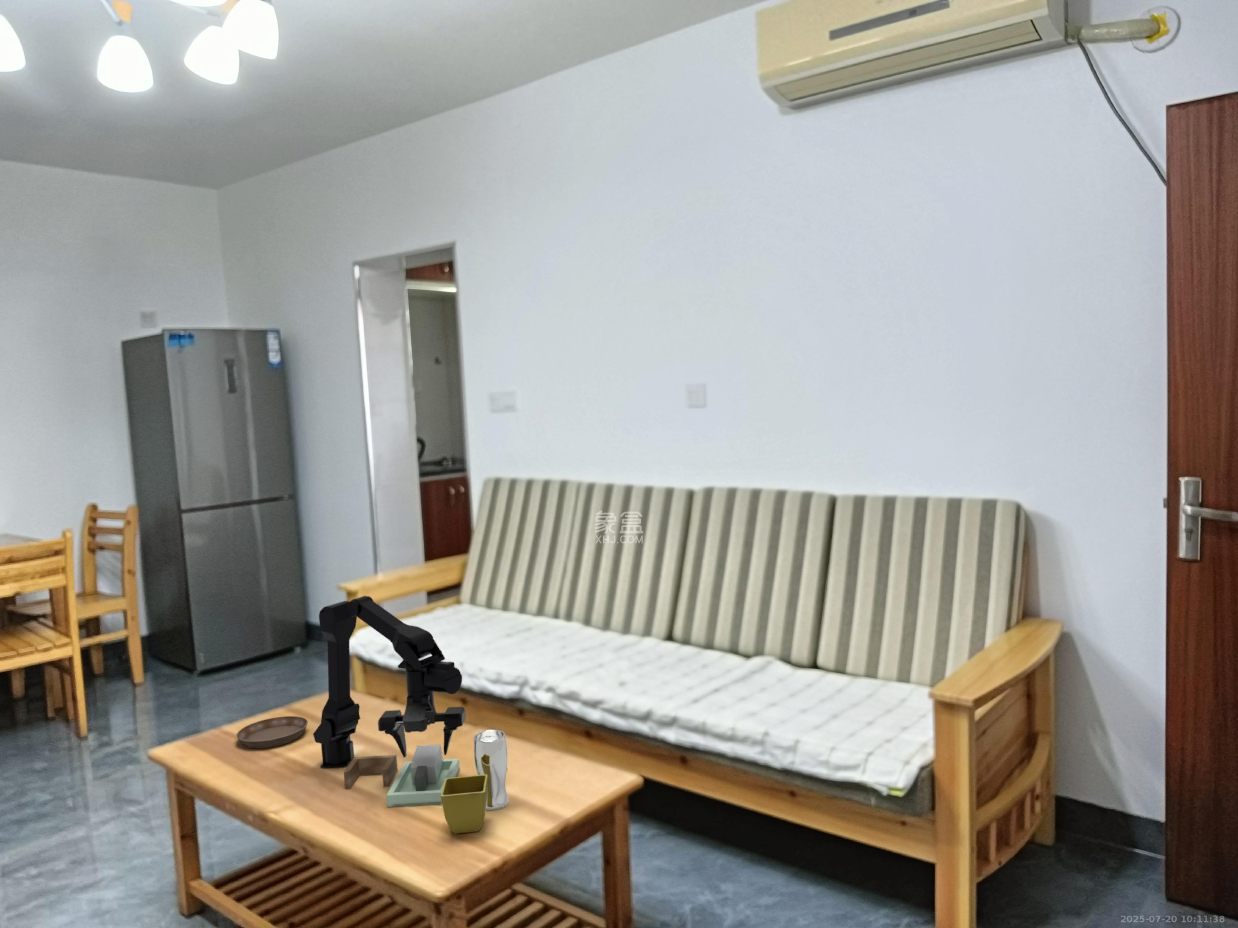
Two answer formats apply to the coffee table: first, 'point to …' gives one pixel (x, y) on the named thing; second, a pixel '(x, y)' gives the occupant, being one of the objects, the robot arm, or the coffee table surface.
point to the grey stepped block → (426, 766)
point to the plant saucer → (272, 731)
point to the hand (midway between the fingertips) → (425, 755)
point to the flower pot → (464, 802)
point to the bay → (371, 769)
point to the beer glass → (492, 765)
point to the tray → (408, 796)
